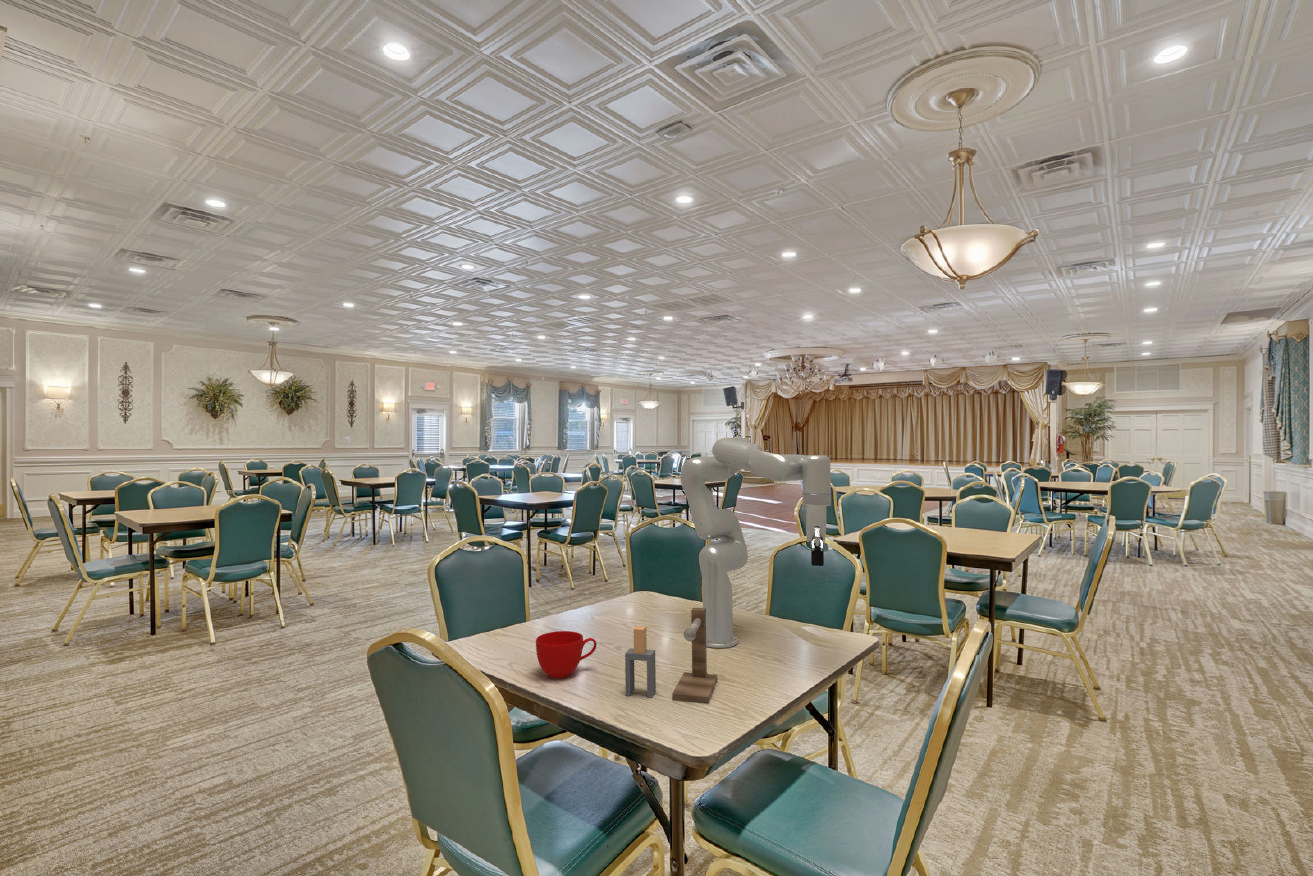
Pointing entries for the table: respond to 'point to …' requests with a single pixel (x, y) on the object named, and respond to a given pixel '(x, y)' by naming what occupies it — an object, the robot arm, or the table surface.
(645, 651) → the grey arch stand
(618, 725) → the table surface
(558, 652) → the ceramic cup
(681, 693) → the hook stand
